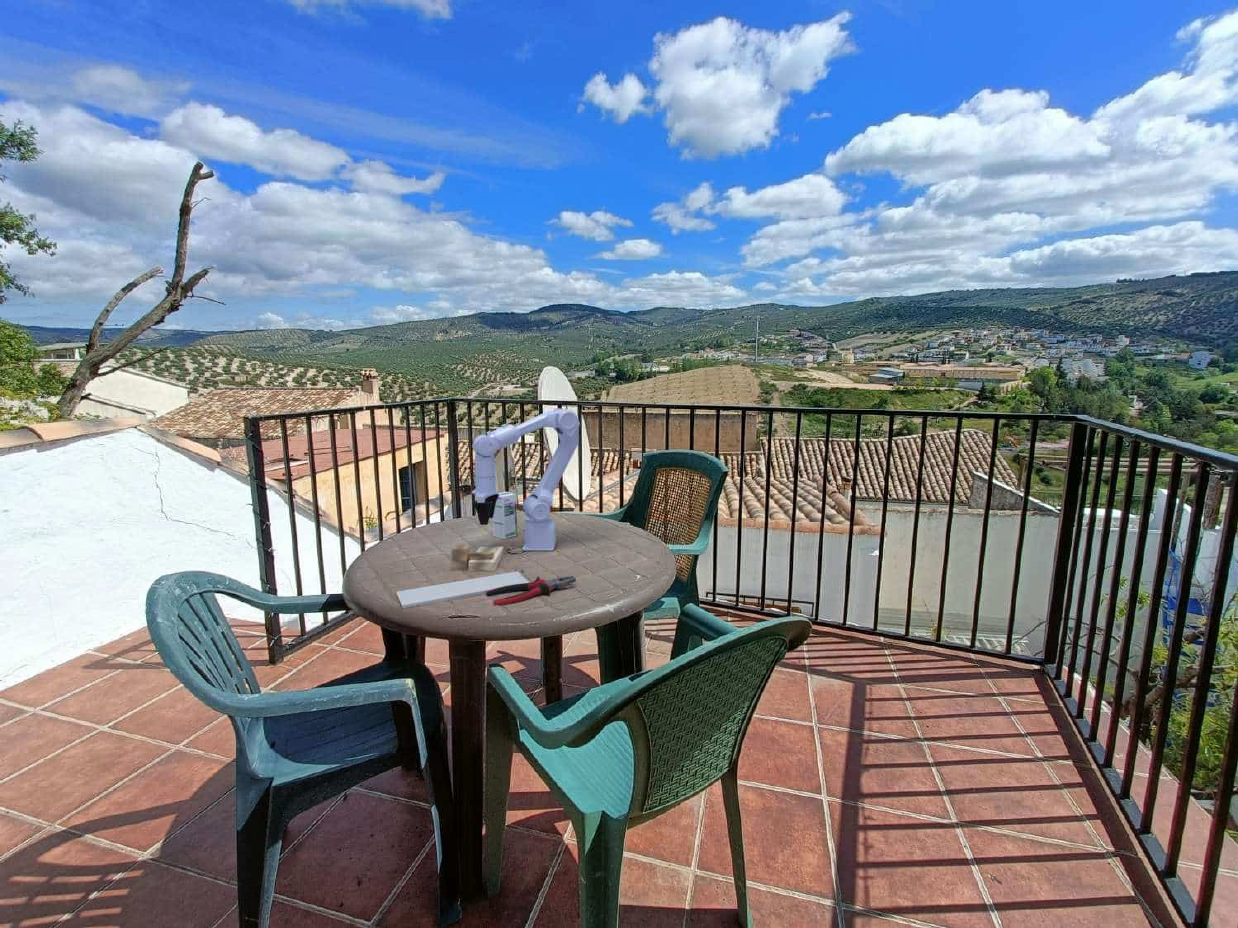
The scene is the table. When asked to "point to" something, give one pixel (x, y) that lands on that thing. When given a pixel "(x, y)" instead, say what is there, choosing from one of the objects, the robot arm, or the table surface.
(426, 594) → the baseboard
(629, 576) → the table surface
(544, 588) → the pliers
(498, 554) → the plank
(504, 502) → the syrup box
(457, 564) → the wooden mallet
